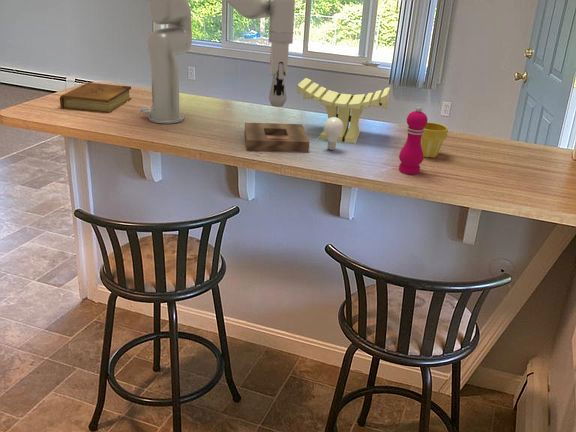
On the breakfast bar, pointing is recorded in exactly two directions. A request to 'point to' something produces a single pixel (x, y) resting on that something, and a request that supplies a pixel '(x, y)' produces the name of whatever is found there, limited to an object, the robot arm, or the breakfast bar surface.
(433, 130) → the plant pot
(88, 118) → the breakfast bar surface
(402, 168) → the pepper mill
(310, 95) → the slatted curved stool
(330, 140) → the lightbulb
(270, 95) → the salt shaker
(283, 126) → the socket block
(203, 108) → the breakfast bar surface
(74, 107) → the diary
